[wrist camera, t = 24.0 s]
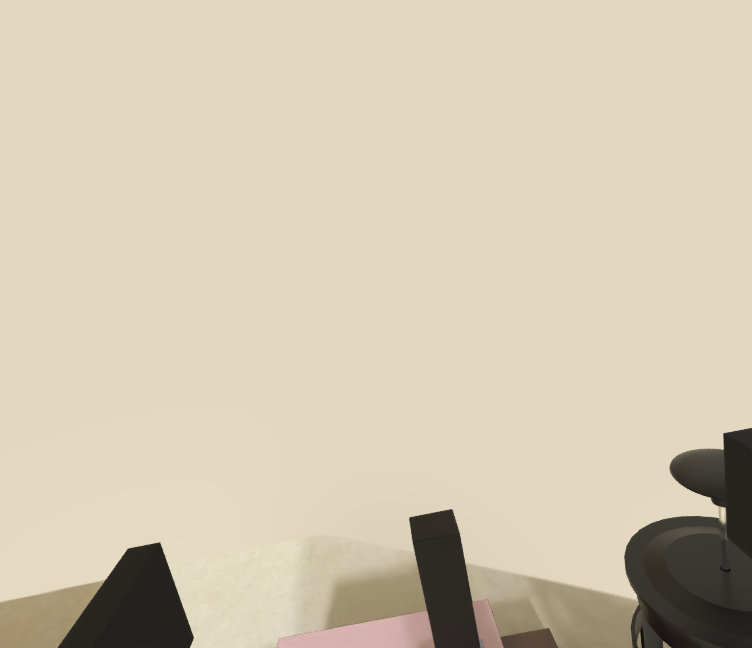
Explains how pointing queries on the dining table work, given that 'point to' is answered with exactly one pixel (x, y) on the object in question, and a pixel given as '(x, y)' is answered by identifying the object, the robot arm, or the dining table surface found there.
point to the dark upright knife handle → (444, 580)
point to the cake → (393, 632)
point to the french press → (691, 570)
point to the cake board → (530, 640)
